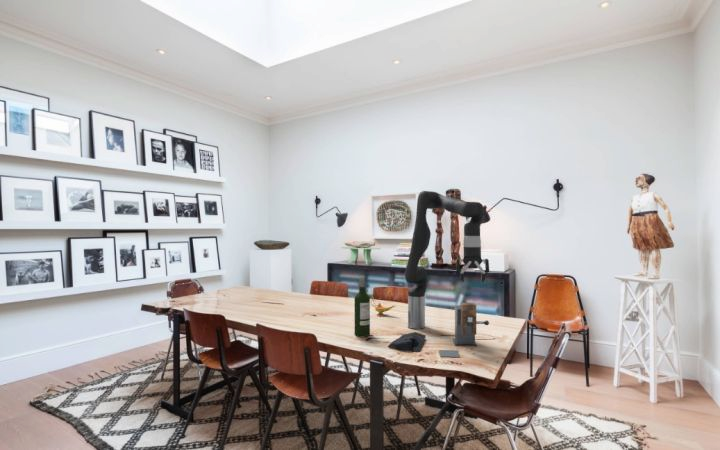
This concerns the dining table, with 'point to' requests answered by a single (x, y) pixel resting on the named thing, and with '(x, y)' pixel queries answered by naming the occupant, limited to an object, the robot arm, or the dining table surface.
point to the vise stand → (466, 338)
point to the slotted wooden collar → (468, 310)
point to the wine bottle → (362, 311)
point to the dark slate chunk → (408, 342)
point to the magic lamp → (381, 308)
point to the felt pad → (449, 353)
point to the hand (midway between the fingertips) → (472, 281)
